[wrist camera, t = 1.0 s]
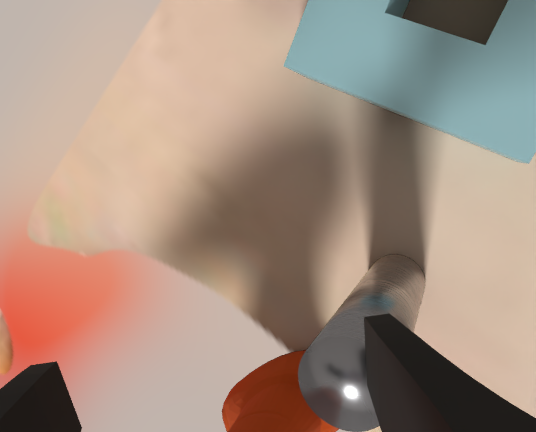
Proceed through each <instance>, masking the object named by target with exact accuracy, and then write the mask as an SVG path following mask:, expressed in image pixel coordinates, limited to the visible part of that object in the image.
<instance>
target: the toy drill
mask: <svg viewBox="0 0 536 432" xmlns="http://www.w3.org/2000/svg"><path fill="white" fill-rule="evenodd" d="M305 351H306V350H304V351H296V352H291V353H288V354H285V355H282V356H279V357H277V358H275V359H273V360H271V361H269V362H267V363H265V364H264V365H262V366H260V367H258V368H257V369H255V370H254V371H252V372H251V373H250V374H248V375H247V376H246V377H245V378H243V379H242V380H241V381H239V382H238V383H237V384H236V385H235V386H234V387H233V388H232V389H231V391H230V392H229V394H228V396H227V398H226V400H225V402H224V405H223V409H222V416H223V421H224V424H225V428H226V431H227V432H336V431H337V430H338V429H339V428H336V427H334V426H332V425H330V424H328V423H326V422H325V421H323V420H322V419H321V418H319V417H318V416H317V415H316V414H315V413H314V412H313V411H312V409H311V408H310V407H309V406H308V404H307V403H306V401H305V399H304V397H303V395H302V393H301V390H300V386H299V381H298V368H299V364H300V361H301V358H302V356H303V355H304V353H305Z"/></svg>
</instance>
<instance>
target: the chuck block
mask: <svg viewBox="0 0 536 432" xmlns="http://www.w3.org/2000/svg"><path fill="white" fill-rule="evenodd" d="M409 1H410V0H308V3H307V5H306V8H305V11H304V13H303V16H302V19H301V21H300V24H299V27H298V29H297V32H296V34H295V37H294V40H293V42H292V45H291V48H290V50H289V53H288V56H287V58H286V61H285V63H284V67H286V68H288V69H290V70H292V71H294V72H296V73H298V74H300V75H302V76H304V77H306V78H309V79H311V80H314V81H316V82H319V83H321V84H324V85H326V86H329V87H331V88H334V89H336V90H339V91H342V92H344V93H347V94H349V95H352V96H354V97H357V98H359V99H362V100H364V101H367V102H369V103H372V104H374V105H377V106H379V107H382V108H384V109H387V110H389V111H392V112H394V113H397V114H399V115H402V116H404V117H407V118H409V119H412V120H414V121H417V122H419V123H422V124H424V125H427V126H429V127H432V128H434V129H437V130H439V131H442V132H444V133H447V134H449V135H452V136H454V137H457V138H459V139H462V140H464V141H467V142H469V143H472V144H474V145H477V146H479V147H482V148H484V149H487V150H489V151H492V152H494V153H497V154H499V155H502V156H504V157H507V158H509V159H512V160H514V161H517V162H521V163H528V164H529V162H530V161H531V159H532V157H533V156H534V154H535V152H536V0H508V2H507V4H506V6H505V8H504V10H503V12H502V14H501V16H500V18H499V20H498V22H497V24H496V25H495V27H494V29H493V31H492V33H491V35H490V37H489V39H488V41H487V43H486V45H483V44H480V43H477V42H474V41H471V40H468V39H465V38H461V37H458V36H455V35H452V34H449V33H446V32H443V31H440V30H437V29H434V28H431V27H428V26H424V25H421V24H418V23H415V22H412V21H409V20H406V19H403V18H402V17H403V15H404V12H405V10H406V8H407V6H408V3H409Z"/></svg>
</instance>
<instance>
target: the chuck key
mask: <svg viewBox="0 0 536 432" xmlns="http://www.w3.org/2000/svg"><path fill="white" fill-rule="evenodd" d="M424 289H425V278H424V274H423V272H422V270H421V268H420V267H419V266H418V265H417V264H416V263H415V262H414V261H413V260H411V259H410V258H408V257H406V256H402V255H397V254H392V255H386V256H384V257H381V258H380V259H378V260H377V261H376V262H375V263H374V264H373V265H372V267H371V268H370V269H369V270H368V272H367V273H366V274H365V276H364V277H363V278H362V279H361V281H360V282H359V283H358V285H357V286H356V287H355V288H354V290H353V291H352V292H351V294H350V295H349V296H348V297H347V299H346V300H345V301H344V303H343V304H342V305H341V306H340V308H339V309H338V310H337V312H336V313H335V314H334V315H333V317H332V318H331V319H330V321H329V322H328V323H327V324H326V326H325V327H324V328H323V330H322V331H321V332H320V333H319V335H318V336H317V337H316V339H315V340H314V341H313V342H312V344H311V345H310V346H309V348H308V349H307V350H306V351H305V353H304V355H303V356H302V358H301V361H300V364H299V368H298V381H299V386H300V390H301V393H302V395H303V397H304V399H305V401H306V403H307V404H308V406H309V407H310V408H311V409H312V411H313V412H314V413H315V414H316V415H317V416H318V417H319V418H321V419H322V420H323V421H325V422H326V423H328V424H330V425H332V426H334V427H336V428H339V429H342V430H346V431H352V432H362V431H368V430H371V429H374V428H376V427H378V426H380V425H379V422H378V419H377V416H376V413H375V409H374V406H373V403H372V400H371V396H370V393H369V390H368V387H367V372H366V352H365V331H364V317H368V316H375V315H381V314H388V313H390V314H391V315H392V316H393V317H395V318H396V319H397V320H399V321H400V322H401V323H402V324H403V325H405V326H406V327H407V328H408V329H410V330H411V331H412V332H414V328H415V324H416V320H417V316H418V313H419V309H420V305H421V301H422V297H423V293H424Z"/></svg>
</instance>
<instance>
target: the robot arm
mask: <svg viewBox="0 0 536 432" xmlns="http://www.w3.org/2000/svg"><path fill="white" fill-rule="evenodd" d="M364 331H365V352H366V372H367V387H368V390H369V393H370V396H371V400H372V403H373V406H374V409H375V413H376V416H377V419H378V422H379V425H380V428H381V430H382V432H536V418H534V417H533V416H531V415H529V414H528V413H526V412H524V411H522V410H521V409H519V408H517V407H516V406H514V405H513V404H511V403H509V402H508V401H506V400H505V399H503V398H502V397H500V396H499V395H497V394H496V393H494V392H493V391H491V390H490V389H488V388H487V387H485V386H484V385H482V384H481V383H479V382H478V381H476V380H475V379H473V378H472V377H470V376H469V375H468V374H466V373H465V372H463V371H462V370H461V369H459V368H458V367H457V366H455V365H454V364H453V363H451V362H450V361H449V360H447V359H446V358H445V357H443V356H442V355H441V354H439V353H438V352H437V351H436V350H434V349H433V348H432V347H431V346H429V345H428V344H427V343H426V342H424V341H423V340H422V339H421V338H419V337H418V336H417V335H416V334H414V333H413V332H412V331H411V330H410V329H408V328H407V327H406V326H405V325H403V324H402V323H401V322H400V321H399V320H397V319H396V318H395V317H393V316H392V315H391V314H390V313H388V314H381V315H375V316H368V317H364ZM81 429H82V427H81V424H80V422H79V419H78V417H77V414H76V411H75V408H74V406H73V403H72V400H71V398H70V395H69V392H68V390H67V387H66V384H65V382H64V380H63V377H62V374H61V371H60V369H59V366H58V363H57V362H50V363H43V364H36V365H31V366H29V367H28V368H27V369H25V370H24V371H22V372H21V373H20V374H18V375H17V376H16V377H15V378H13V379H12V380H11V381H10V382H8V383H7V384H6V385H5V386H4V387H2V388H1V389H0V432H81Z"/></svg>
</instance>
